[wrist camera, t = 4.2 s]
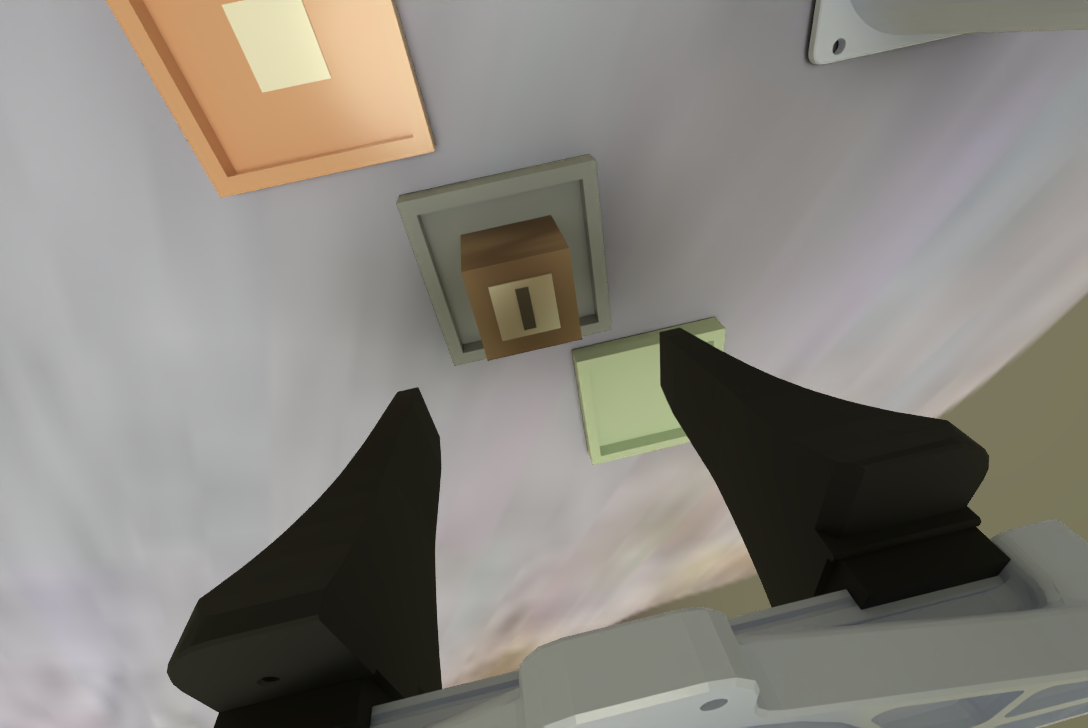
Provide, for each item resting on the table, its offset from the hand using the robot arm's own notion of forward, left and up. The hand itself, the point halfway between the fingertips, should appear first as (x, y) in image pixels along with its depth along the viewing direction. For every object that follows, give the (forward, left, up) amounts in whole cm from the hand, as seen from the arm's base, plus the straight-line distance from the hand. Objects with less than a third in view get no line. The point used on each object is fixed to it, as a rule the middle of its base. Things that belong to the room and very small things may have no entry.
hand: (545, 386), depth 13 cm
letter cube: (0, 0, -9) cm, 9 cm away
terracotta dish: (+6, -10, -9) cm, 15 cm away
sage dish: (-6, +10, -9) cm, 15 cm away
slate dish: (0, 0, -9) cm, 9 cm away
